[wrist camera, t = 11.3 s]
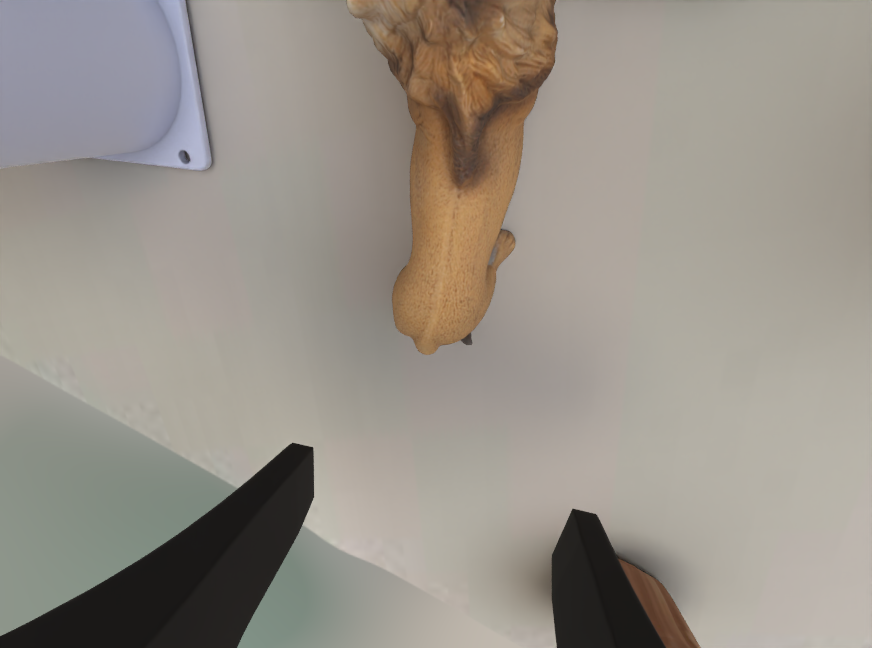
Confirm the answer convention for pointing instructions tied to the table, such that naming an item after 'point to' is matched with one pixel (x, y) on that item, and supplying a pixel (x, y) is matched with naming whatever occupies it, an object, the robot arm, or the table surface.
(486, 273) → the lion figurine
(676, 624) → the cupcake
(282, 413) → the table surface
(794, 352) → the table surface
